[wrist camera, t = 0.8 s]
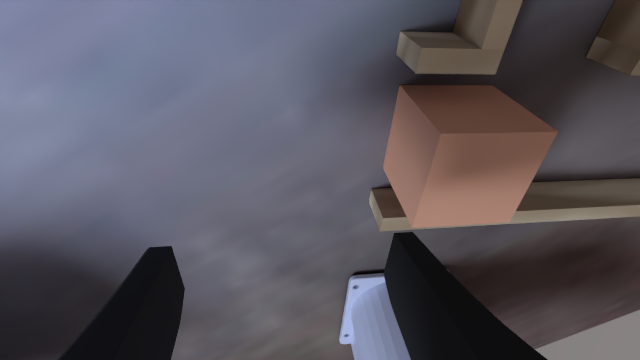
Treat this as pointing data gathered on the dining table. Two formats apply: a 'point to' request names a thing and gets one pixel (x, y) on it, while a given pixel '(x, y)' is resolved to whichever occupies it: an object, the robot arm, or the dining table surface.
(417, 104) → the block
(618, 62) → the trap lane
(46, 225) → the dining table surface
